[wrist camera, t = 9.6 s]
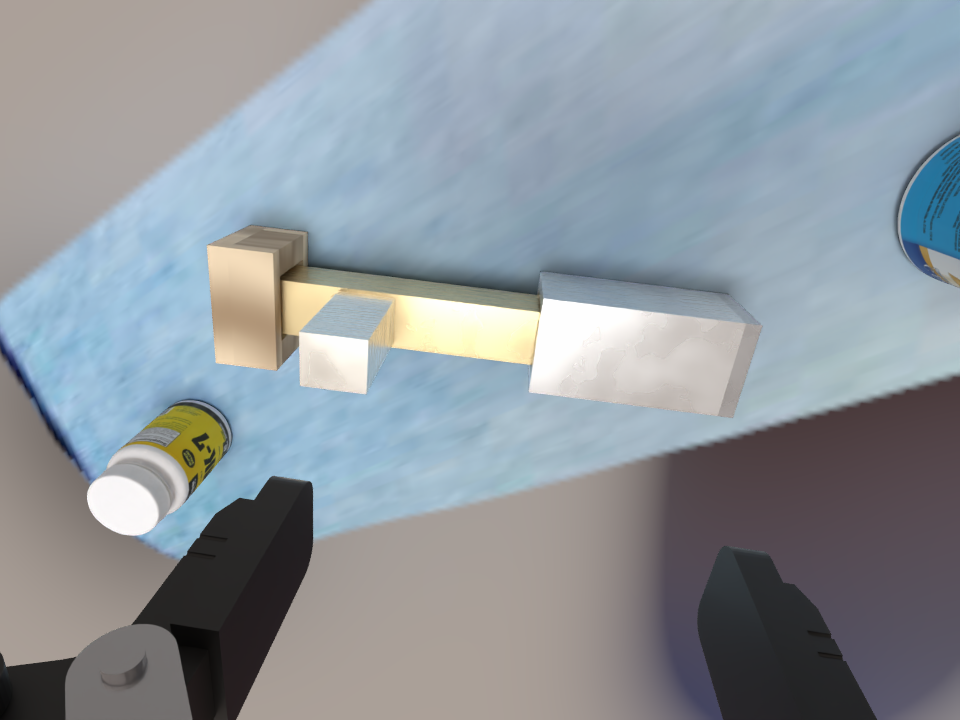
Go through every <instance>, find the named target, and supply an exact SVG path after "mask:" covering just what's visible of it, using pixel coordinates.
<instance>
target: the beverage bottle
mask: <svg viewBox="0 0 960 720" xmlns="http://www.w3.org/2000/svg"><path fill="white" fill-rule="evenodd" d="M898 234H899V239H900V243H901V246H902V248H903V250H904V252H905V254H906V256H907V257H908V259H909V260H910V261H911V262H912V263H913V264H914V265H915V266H916V267H917V268H918V269H919V270H920V271H922V272H923V273H925V274H927V275H928V276H930V277H933V278H935V279H937V280H940V281H942V282H945V283H948V284H951V285H954V286H956V287H959V288H960V135H959V136H957V137H955V138H953V139H952V140H950V141H949V142H947V143H946V144H944V145H943V146H942V147H940V148H939V149H938V150H937V151H936V152H934V153H933V154H932V155H931V156H930V157H929V158H928V159H927V160H926V161H925V162H924V163H923V165H922V166H921V167H920V168H919V169H918V171H917V172H916V173H915V175H914V176H913V178H912V180H911V181H910V183H909V185H908V187H907V189H906V191H905V193H904V196H903V198H902V201H901V205H900V209H899V214H898Z"/></svg>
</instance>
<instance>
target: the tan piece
mask: <svg viewBox="0 0 960 720" xmlns="http://www.w3.org/2000/svg"><path fill="white" fill-rule="evenodd" d="M280 303H281V334H289V335H297V336H299V354H300V386H305V387H313V388H321V389H329V390H337V391H344V392H352V393H360V394H367V392H368V390H369V388H370V387H371V385H372V383H373V381H374V379H375V377H376V375H377V373H378V371H379V370H380V368H381V366H382V364H383V362H384V360H385V358H386V356H387V354H388V352H389V351H390V349H391V347H393V348H401V349H409V350H417V351H425V352H433V353H441V354H448V355H456V356H464V357H472V358H480V359H488V360H496V361H504V362H512V363H520V364H528V365H532V361H533V354H534V348H535V342H536V335H537V329H538V323H539V316H540V310H541V307H540V296H539V295H533V294H525V293H517V292H509V291H501V290H493V289H485V288H477V287H469V286H460V285H452V284H444V283H436V282H428V281H420V280H412V279H404V278H396V277H388V276H379V275H371V274H363V273H355V272H347V271H339V270H331V269H323V268H315V267H307V266H299V265H295V266H293V267H292V268H291V269H289V270H288V271H287V272H285V273H284V274H282V275H281V276H280Z"/></svg>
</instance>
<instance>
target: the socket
mask: <svg viewBox="0 0 960 720" xmlns="http://www.w3.org/2000/svg"><path fill="white" fill-rule="evenodd" d="M207 253H208V266H209V279H210V292H211V305H212V318H213V331H214V344H215V357H216V363H221V364H228V365H236V366H244V367H252V368H260V369H268V370H276V371H277V370H278V369H279V368H280V366H281V365H282V364H283V363H284V362H285V361H286V360H287V359H288V358H289V357H290V355H291V354H292V353H293V352H294V351H295V350H296V349H297V348H298V347H299V336H297V335H289V334H281V303H280V276H281V275H282V274H284V273H285V272H287V271H288V270H289V269H291V268H292V267H293V266H295V265H299V266H307V267H308V232H303V231H295V230H286V229H278V228H270V227H262V226H254V225H250V226H248V227H245V228H243V229H241V230H239V231H237V232H235V233H232V234H230V235H228V236H226V237H224V238H221V239H219V240H217V241H215V242H213V243H211V244H208V245H207Z"/></svg>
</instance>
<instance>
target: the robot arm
mask: <svg viewBox="0 0 960 720" xmlns="http://www.w3.org/2000/svg"><path fill="white" fill-rule="evenodd" d="M312 547H313V487H312V483H311V482H310V481H304V480H297V479H291V478H284V477H277V476H272V477H271V478H269V480H268V481H267V482H266V484H265V485H264V487H263V488H262V490H261V491H260V492H259V494H258V495H257V497H256V498H255V500H249V499H243V498H239V499H237V500H236V501H234V502H233V503H231V504H230V505H228V506H227V507H225V508H224V509H222V510H221V511H219V512H218V513H216V514H215V515H214V517H213V518H212V519H211V521H210V522H209V523H208V525H207V526H206V527H205V529H204V530H203V531H202V533H201V534H200V538H197V539H196V540H195V542H194V543H193V544H192V546H191V547H190V548H189V550H188V551H187V555H186V556H183V558H182V559H181V560H180V562H179V563H178V564H177V566H176V567H175V568H174V570H173V571H172V572H171V574H170V575H169V576H168V578H167V579H166V580H165V582H164V583H163V584H162V586H161V587H160V588H159V590H158V591H157V592H156V594H155V595H154V596H153V598H152V599H151V600H150V602H149V603H148V604H147V606H146V607H145V608H144V610H143V611H142V612H141V613H140V615H139V616H138V618H137V619H136V620H135V621H134V622H133V624H132V625H129V626H125V627H122V628H118V629H116V630H113V631H111V632H109V633H107V634H105V635H103V636H101V637H99V638H98V639H96V640H95V641H93V642H92V643H90V644H89V645H88V646H87V647H86V648H84V649H83V650H82V652H81V653H80V654H79V655H78V656H77V657H74V658H69V659H63V660H56V661H48V662H41V663H33V664H25V665H17V666H9V667H6V665H5V662H4V659H3V656H2V654H1V653H0V720H236V719H237V717H238V715H239V713H240V710H241V708H242V706H243V704H244V702H245V700H246V698H247V696H248V693H249V692H250V689H251V687H252V685H253V683H254V681H255V679H256V677H257V675H258V673H259V670H260V668H261V666H262V664H263V662H264V660H265V658H266V656H267V654H268V652H269V649H270V647H271V645H272V643H273V641H274V639H275V637H276V635H277V633H278V631H279V629H280V626H281V624H282V622H283V620H284V618H285V616H286V614H287V612H288V610H289V608H290V606H291V603H292V601H293V599H294V597H295V595H296V593H297V591H298V589H299V587H300V585H301V582H302V580H303V578H304V576H305V574H306V571H307V569H308V566H309V562H310V558H311V554H312ZM697 619H698V620H697V624H698V634H699V638H700V642H701V645H702V649H703V652H704V656H705V659H706V663H707V666H708V669H709V673H710V676H711V680H712V683H713V686H714V690H715V693H716V697H717V700H718V703H719V707H720V710H721V714H722V717H723V720H877V719H876V717H875V715H874V713H873V711H872V709H871V708H870V706H869V704H868V702H867V700H866V698H865V696H864V694H863V693H862V691H861V689H860V687H859V685H858V683H857V681H856V680H855V678H854V676H853V674H852V672H851V670H850V668H849V666H848V665H847V663H846V661H843V659H842V653H841V651H840V650H839V648H838V646H837V644H836V642H835V640H834V639H831V633H830V631H829V629H828V627H827V625H826V624H825V622H824V620H823V618H822V616H821V614H820V612H819V611H818V609H817V608H816V606H815V605H814V604H812V603H811V601H810V600H809V599H808V598H807V597H806V596H805V595H804V594H803V593H802V592H801V591H800V590H799V589H798V588H797V587H796V586H795V585H794V584H788V583H783V582H782V579H781V578H780V575H779V573H778V571H777V569H776V567H775V565H774V563H773V561H772V559H771V558H770V556H769V555H768V554H767V553H766V552H762V551H755V550H749V549H742V548H736V547H729V546H724V547H722V549H721V550H720V551H719V553H718V556H717V559H716V561H715V564H714V566H713V569H712V572H711V574H710V577H709V580H708V582H707V585H706V588H705V590H704V593H703V595H702V598H701V601H700V604H699V608H698V618H697Z"/></svg>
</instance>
